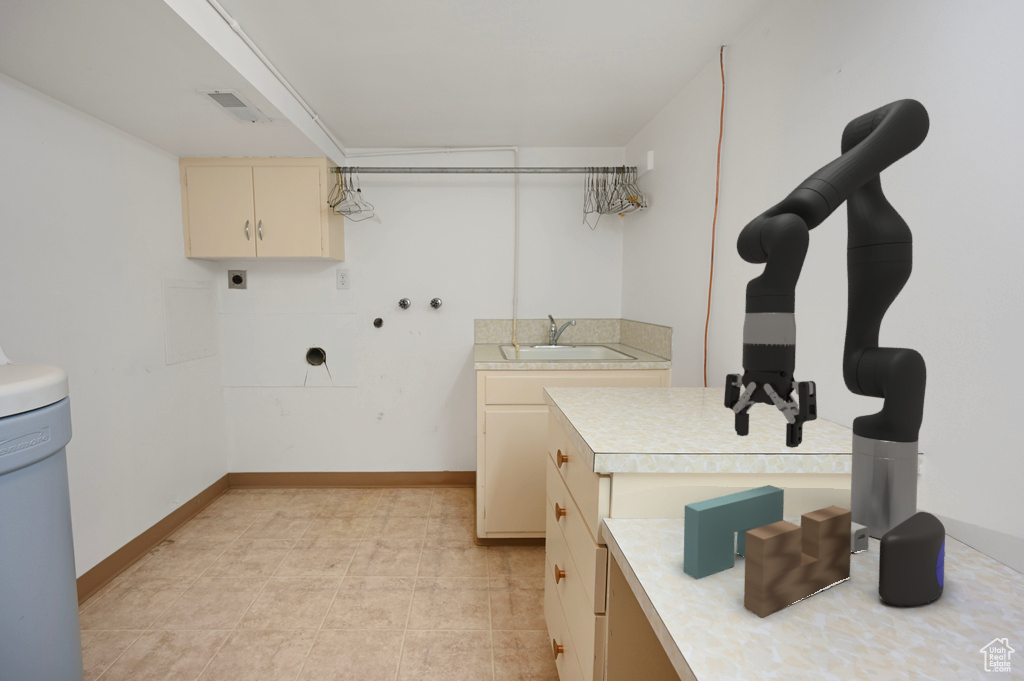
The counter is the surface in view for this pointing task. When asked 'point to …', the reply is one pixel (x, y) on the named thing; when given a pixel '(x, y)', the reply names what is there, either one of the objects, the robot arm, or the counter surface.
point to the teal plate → (726, 527)
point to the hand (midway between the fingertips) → (766, 440)
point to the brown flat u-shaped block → (796, 559)
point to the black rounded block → (912, 561)
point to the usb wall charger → (859, 537)
